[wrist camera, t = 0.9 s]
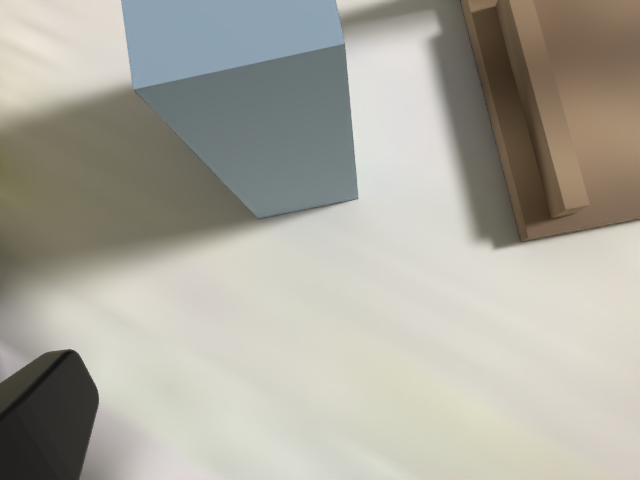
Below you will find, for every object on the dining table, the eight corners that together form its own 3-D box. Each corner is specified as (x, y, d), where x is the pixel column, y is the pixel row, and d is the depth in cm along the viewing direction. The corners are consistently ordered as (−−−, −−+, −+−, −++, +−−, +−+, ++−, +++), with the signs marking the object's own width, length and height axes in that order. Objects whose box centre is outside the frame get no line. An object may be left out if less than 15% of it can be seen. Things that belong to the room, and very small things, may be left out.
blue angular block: (358, 198, 22) (344, 43, 10) (258, 218, 22) (133, 89, 11) (325, 36, 23) (279, -269, 12) (231, 56, 24) (91, -222, 12)
